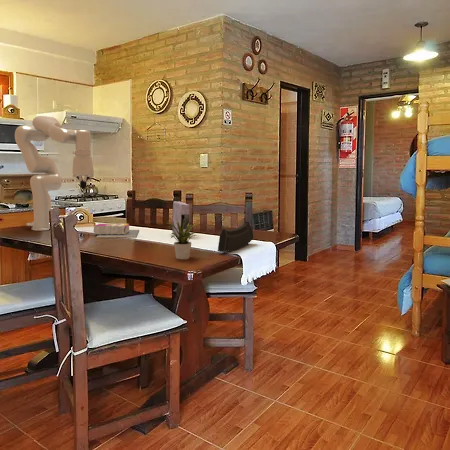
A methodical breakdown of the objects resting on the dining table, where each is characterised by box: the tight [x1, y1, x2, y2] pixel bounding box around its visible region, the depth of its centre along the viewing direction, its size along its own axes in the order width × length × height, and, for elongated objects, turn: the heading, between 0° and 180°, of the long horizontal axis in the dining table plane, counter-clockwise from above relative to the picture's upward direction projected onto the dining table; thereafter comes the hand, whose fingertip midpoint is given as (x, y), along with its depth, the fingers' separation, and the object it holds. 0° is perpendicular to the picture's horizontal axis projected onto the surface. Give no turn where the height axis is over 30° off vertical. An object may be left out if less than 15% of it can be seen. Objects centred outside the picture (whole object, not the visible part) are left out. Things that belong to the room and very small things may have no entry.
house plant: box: [167, 219, 200, 260], centre depth 178 cm, size 14×14×16 cm
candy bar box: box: [93, 223, 130, 236], centre depth 239 cm, size 11×5×16 cm
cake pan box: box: [171, 201, 190, 239], centre depth 235 cm, size 19×5×18 cm, turn 20°
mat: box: [96, 229, 140, 239], centre depth 240 cm, size 20×24×1 cm
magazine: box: [217, 221, 254, 253], centre depth 199 cm, size 17×3×30 cm
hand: (83, 188), depth 237 cm, fingers closed
